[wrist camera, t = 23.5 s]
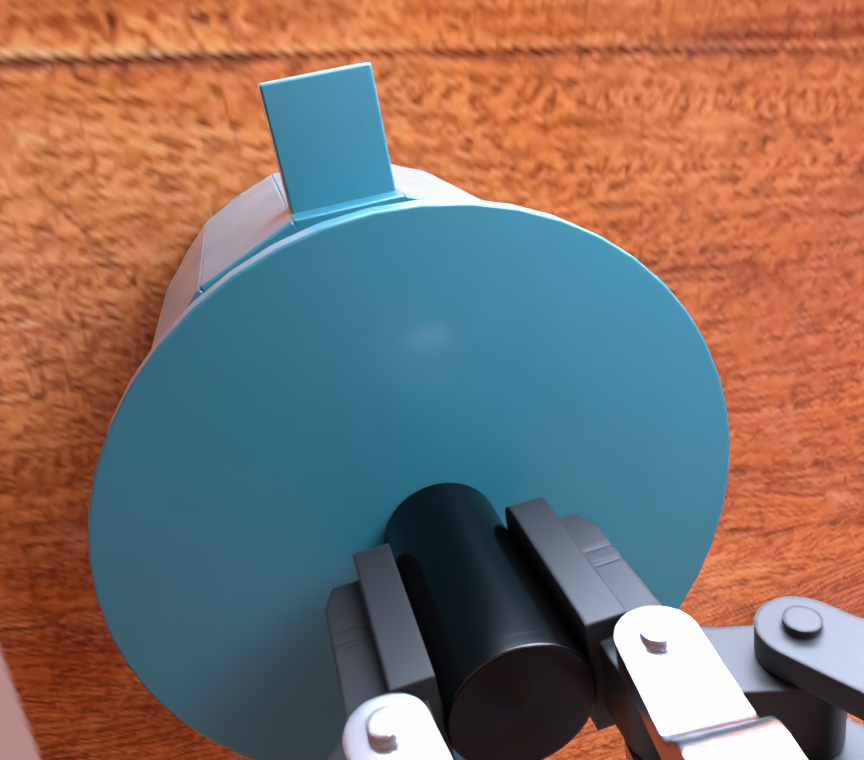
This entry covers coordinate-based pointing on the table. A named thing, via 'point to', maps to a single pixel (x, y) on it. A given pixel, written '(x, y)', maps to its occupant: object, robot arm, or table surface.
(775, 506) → the table surface
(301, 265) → the lid
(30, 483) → the table surface
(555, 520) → the robot arm
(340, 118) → the pot
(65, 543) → the table surface
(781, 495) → the table surface
